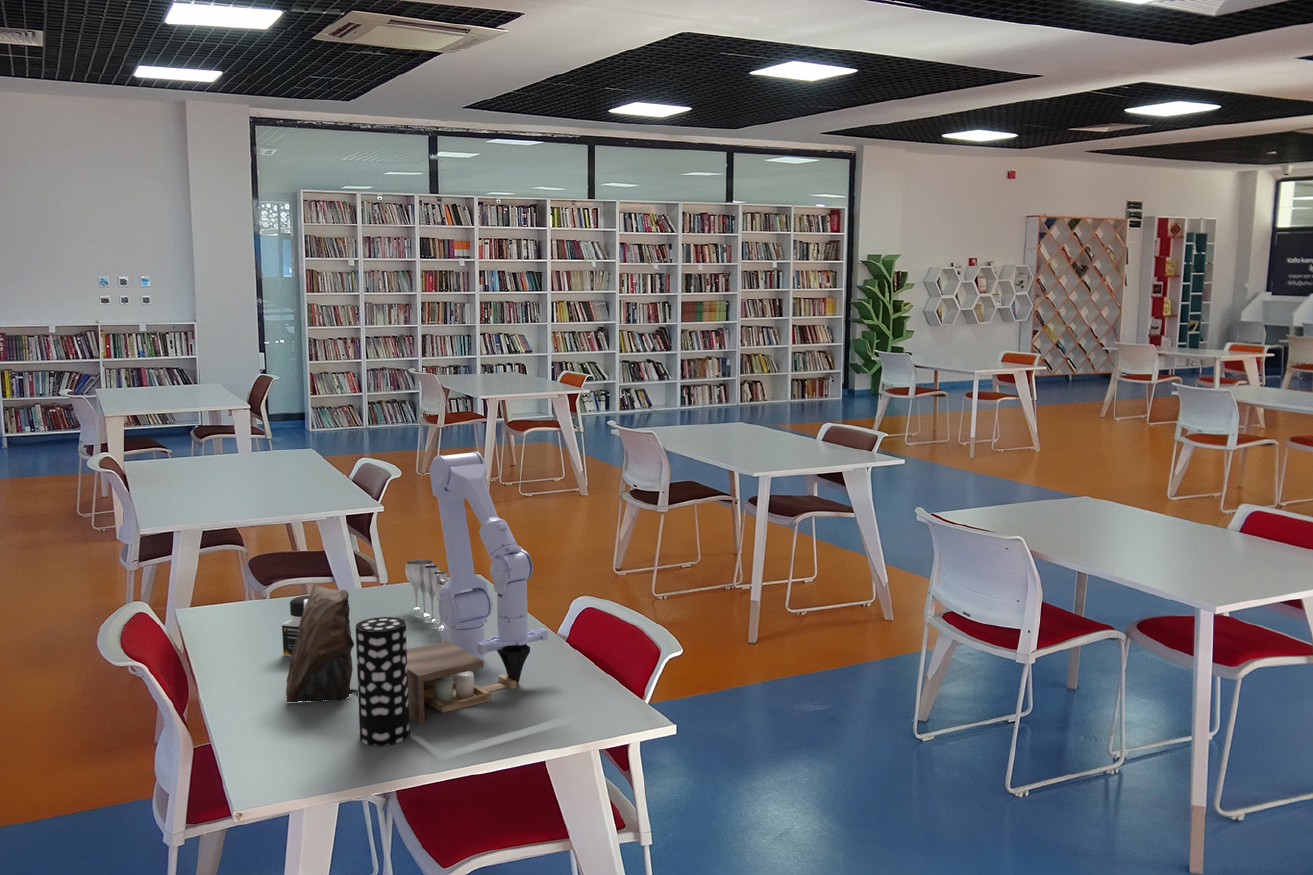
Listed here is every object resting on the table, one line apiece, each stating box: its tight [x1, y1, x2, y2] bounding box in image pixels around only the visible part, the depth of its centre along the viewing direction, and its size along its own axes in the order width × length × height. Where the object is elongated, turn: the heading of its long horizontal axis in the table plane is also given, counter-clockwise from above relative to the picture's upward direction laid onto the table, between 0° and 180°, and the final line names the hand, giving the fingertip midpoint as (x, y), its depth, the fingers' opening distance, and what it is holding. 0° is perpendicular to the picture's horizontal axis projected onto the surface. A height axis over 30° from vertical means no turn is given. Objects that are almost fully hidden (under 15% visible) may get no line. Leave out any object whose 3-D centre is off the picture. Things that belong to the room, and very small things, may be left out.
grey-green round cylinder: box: [434, 676, 453, 704], centre depth 195 cm, size 3×3×4 cm
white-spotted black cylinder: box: [355, 616, 410, 747], centre depth 181 cm, size 8×8×20 cm
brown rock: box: [285, 583, 355, 702], centre depth 202 cm, size 13×13×20 cm
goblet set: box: [404, 559, 463, 637], centre depth 247 cm, size 28×6×13 cm, turn 32°
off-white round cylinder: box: [454, 671, 475, 698], centre depth 198 cm, size 3×3×4 cm
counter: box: [407, 640, 484, 725], centre depth 194 cm, size 14×13×10 cm
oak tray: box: [424, 674, 518, 714], centre depth 199 cm, size 10×17×2 cm, turn 128°
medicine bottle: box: [281, 595, 309, 657], centre depth 225 cm, size 7×7×12 cm
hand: (513, 682), depth 205 cm, fingers closed
